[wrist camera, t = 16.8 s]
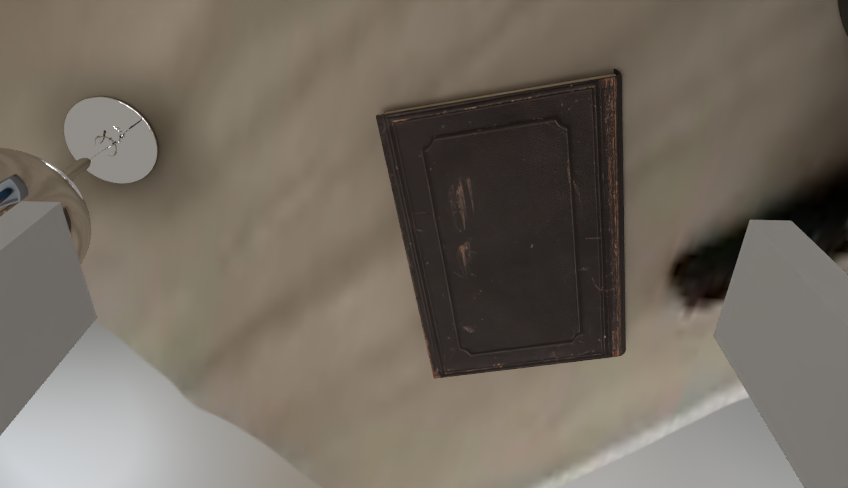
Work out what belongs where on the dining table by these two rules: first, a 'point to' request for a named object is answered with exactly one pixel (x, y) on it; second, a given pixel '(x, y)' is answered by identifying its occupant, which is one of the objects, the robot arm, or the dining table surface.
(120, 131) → the wineglass
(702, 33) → the dining table surface
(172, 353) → the dining table surface
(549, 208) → the hardcover book
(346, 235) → the dining table surface
